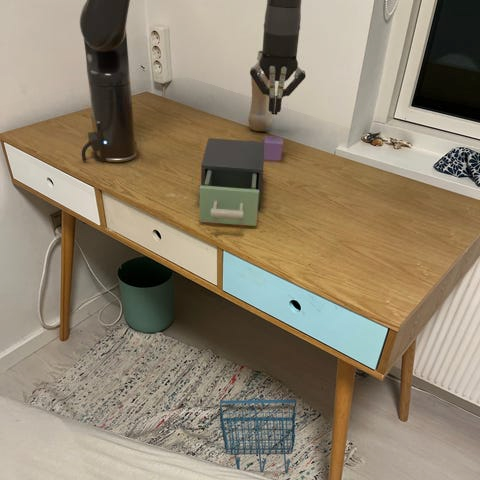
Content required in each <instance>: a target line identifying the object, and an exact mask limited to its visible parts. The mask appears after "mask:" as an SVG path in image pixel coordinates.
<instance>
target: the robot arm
mask: <svg viewBox="0 0 480 480" xmlns="http://www.w3.org/2000/svg"><path fill="white" fill-rule="evenodd" d="M130 3H131V0H86V1H85V2H84V4H83V6H82V8H81V12H80V16H79V28H80V33H81V35H82V37H83V43H84V52H85V61H86V62H85V64H86V74H87V81H88V88H89V96H90V105H91V111H92V113H91V114H90V117H91V124H92V130H93V131H92V132H87V138H88V142H86V143H85V144H84V146H83V147H82V149H81V160H82V161H87V156H86V152H87V150H88V148H89V147H90V148H91V149H92V152H95V153H96V155H97V157H98V158H99V160H100V162H102V163H105V162H106V163H107V162H108V163H125V162H130V161H132V160H134V159H136V157H137V155H138V154H137V153H138V151H137V144H138V143H137V141H136V134H135V124H134V123H135V122H134V112H133V111H134V110H133V99H132V87H131V73H130V71H131V70H130V59H129V48H128V36H127V21H128V16H129V15H128V13H129V9H130ZM301 10H302V0H266V8H265V13H264V21H263V36H262V37H263V38H262V49H261V51H262V57H261V59H260V61H259V64H258V65H256V64H255V65H256V66H255V65H254V66H255V67H254V66H252V67H251V68H250V70H249V76H250V77H251V76H252V78H253V79H254V81H255V83H256V84H257V86H258V87H259V89H260V90H261V92H262V94H266V95H268V96H269V112H271V114H272V115H273V116H274V115H275V116H277V115H278V113H280V112H281V111H282V103H283V102H282V100H283V98H284V97H289V96H291V95H292V93H293V92H294V91H295V90H296V89H297V88H298V87H299V85H301V83H302V82H303V81H304V80H305V79H306V71H305V70H302V69H301V68H300V67H299V62H298V59H297V57H298V47H299V40H300V39H299V37H300V31H301V21H302V20H301V19H302V18H301V17H302V15H301V14H302V11H301ZM260 69H262V71H263V72H264V74H265V76H266V78H267V79H268V80H269V88H268V87H267V86H266V84H265V83H264V81H263V80H262V78H261V76H260V75H261V70H260ZM293 74H294V75H293ZM292 75H293V78H294V79H292V81H291V82H290V83H289V84H288V85H287V86H286V87H285V83H286V82H287V81H288V80H289V79H290V77H291V76H292ZM276 82H278V84H277V90H276Z"/></svg>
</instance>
